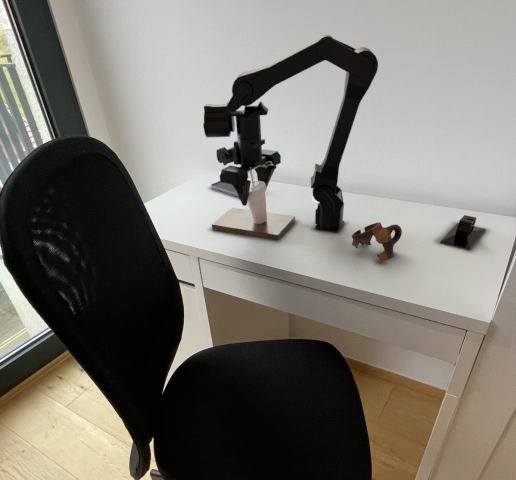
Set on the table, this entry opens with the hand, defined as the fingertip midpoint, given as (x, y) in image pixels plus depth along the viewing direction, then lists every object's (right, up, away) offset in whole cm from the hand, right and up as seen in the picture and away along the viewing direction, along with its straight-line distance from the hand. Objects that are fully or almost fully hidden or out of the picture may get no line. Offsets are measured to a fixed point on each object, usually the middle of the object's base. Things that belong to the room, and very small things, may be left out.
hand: (253, 200), depth 107 cm
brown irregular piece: (+30, -16, -9) cm, 35 cm away
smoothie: (+2, -4, +4) cm, 6 cm away
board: (0, -5, +6) cm, 8 cm away
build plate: (+53, -11, -6) cm, 54 cm away
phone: (-7, +13, +27) cm, 31 cm away
